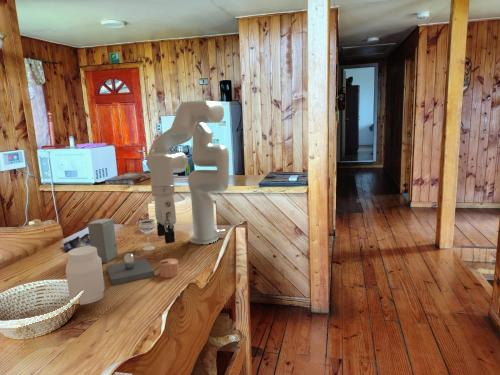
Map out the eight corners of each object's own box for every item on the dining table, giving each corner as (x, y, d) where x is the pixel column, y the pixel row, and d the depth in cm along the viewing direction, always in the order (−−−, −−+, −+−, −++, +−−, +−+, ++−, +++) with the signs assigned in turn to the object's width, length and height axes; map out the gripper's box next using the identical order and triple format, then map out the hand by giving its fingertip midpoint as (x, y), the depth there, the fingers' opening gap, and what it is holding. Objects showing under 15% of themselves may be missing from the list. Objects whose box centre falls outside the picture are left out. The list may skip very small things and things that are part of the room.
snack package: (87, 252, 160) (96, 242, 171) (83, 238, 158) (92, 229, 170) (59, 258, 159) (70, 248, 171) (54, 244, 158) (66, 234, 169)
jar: (103, 301, 115) (97, 254, 112) (68, 307, 112) (62, 259, 109) (105, 285, 126) (100, 242, 123) (73, 290, 123) (68, 246, 120)
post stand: (145, 262, 145) (144, 245, 143) (154, 276, 132) (153, 257, 131) (106, 270, 138) (104, 252, 137) (112, 285, 126) (110, 265, 125)
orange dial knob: (175, 268, 138) (174, 256, 137) (180, 275, 133) (180, 261, 132) (158, 272, 135) (157, 259, 134) (162, 279, 130) (161, 265, 129)
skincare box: (107, 263, 145) (103, 223, 142) (90, 262, 147) (86, 223, 144) (119, 255, 153) (115, 217, 151) (103, 254, 155) (99, 217, 152)
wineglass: (137, 250, 159) (134, 222, 157) (147, 244, 165) (145, 218, 163) (150, 251, 157) (148, 223, 154) (160, 246, 163) (158, 219, 160)
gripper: (181, 192, 122) (184, 244, 125) (166, 185, 137) (169, 231, 140) (158, 195, 119) (161, 247, 122) (146, 188, 134) (149, 234, 137)
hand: (166, 239), depth 131 cm, fingers open, 9 cm apart
